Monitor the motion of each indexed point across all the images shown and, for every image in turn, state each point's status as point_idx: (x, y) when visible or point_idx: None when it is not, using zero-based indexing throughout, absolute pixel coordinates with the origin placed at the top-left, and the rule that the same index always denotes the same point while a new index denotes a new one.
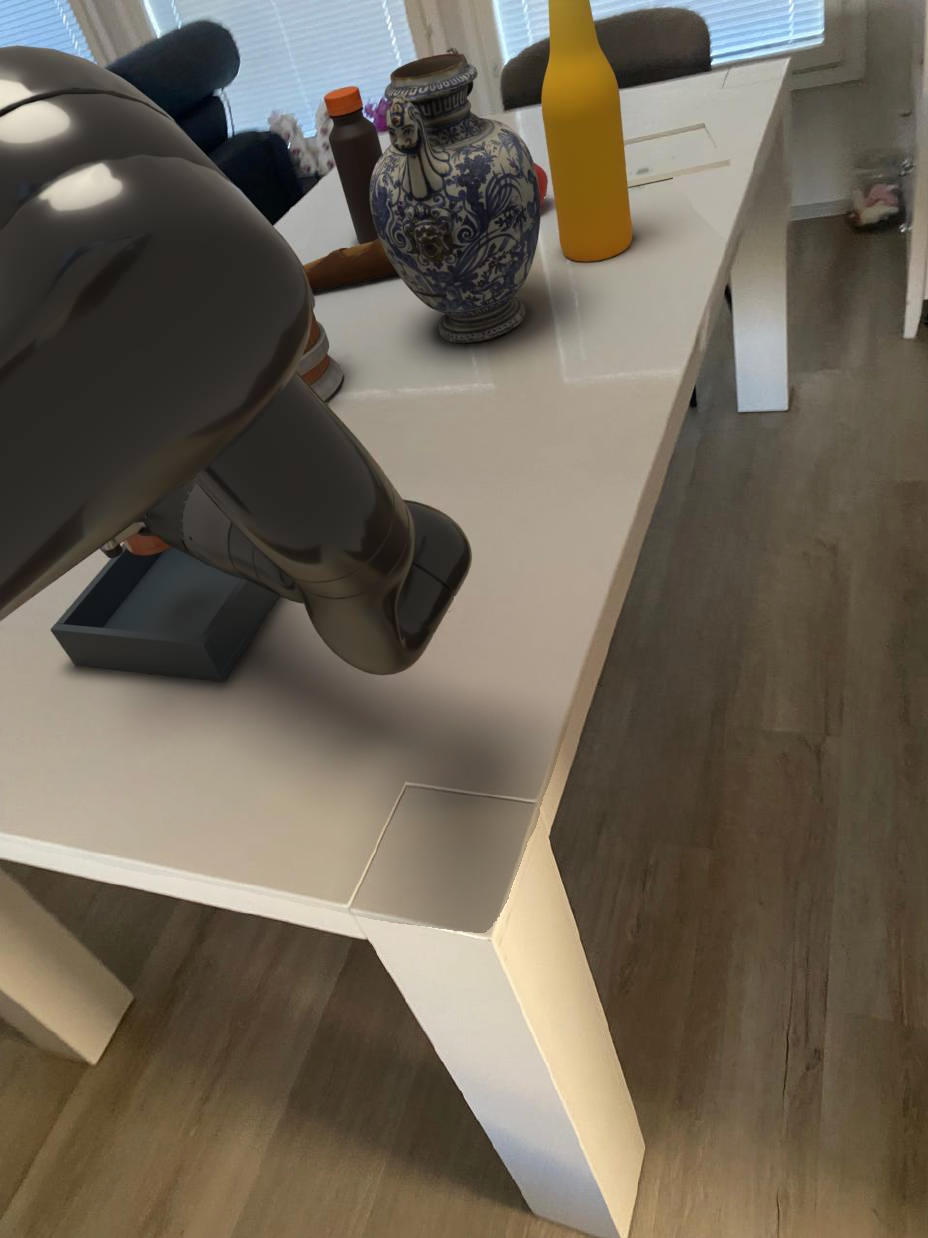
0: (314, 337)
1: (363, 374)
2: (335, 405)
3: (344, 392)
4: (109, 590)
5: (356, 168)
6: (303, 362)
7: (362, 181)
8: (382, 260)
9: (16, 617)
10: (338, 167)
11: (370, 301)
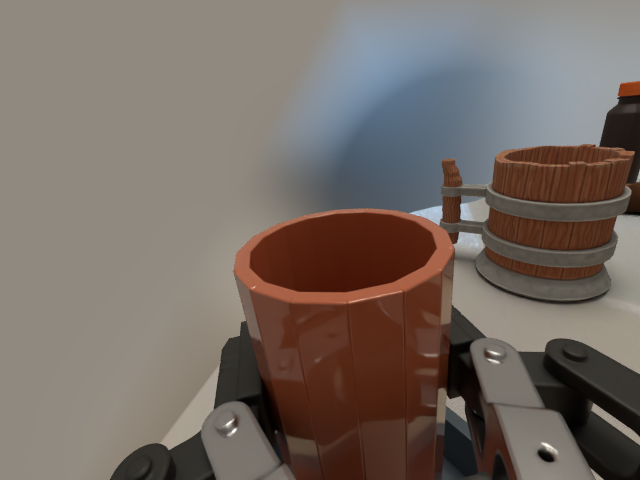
0: (610, 236)
1: (636, 287)
2: (604, 309)
3: (613, 298)
4: (275, 452)
5: (625, 135)
6: (592, 256)
7: (625, 145)
8: (638, 198)
9: (211, 382)
10: (606, 133)
11: (617, 225)
